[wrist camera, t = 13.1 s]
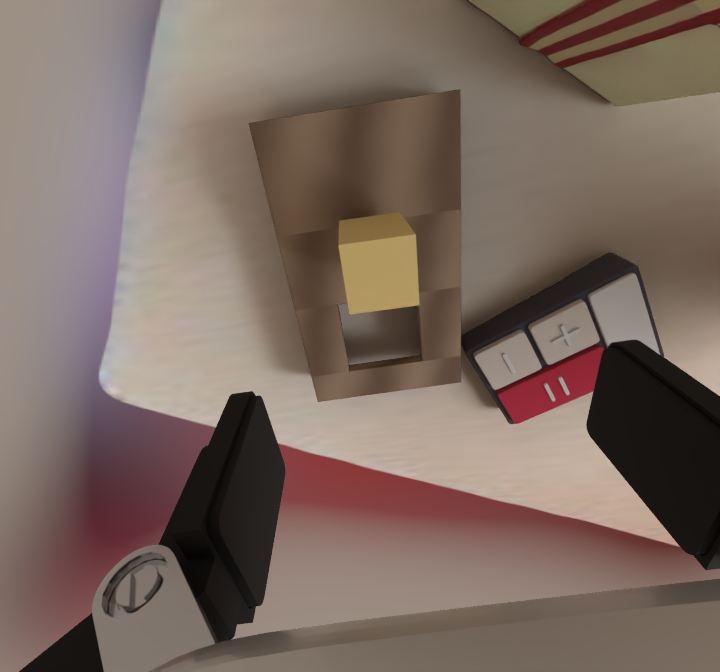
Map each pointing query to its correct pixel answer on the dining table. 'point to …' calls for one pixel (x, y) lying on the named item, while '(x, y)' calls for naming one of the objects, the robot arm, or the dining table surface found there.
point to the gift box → (622, 43)
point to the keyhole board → (363, 199)
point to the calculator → (560, 338)
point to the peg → (378, 263)
